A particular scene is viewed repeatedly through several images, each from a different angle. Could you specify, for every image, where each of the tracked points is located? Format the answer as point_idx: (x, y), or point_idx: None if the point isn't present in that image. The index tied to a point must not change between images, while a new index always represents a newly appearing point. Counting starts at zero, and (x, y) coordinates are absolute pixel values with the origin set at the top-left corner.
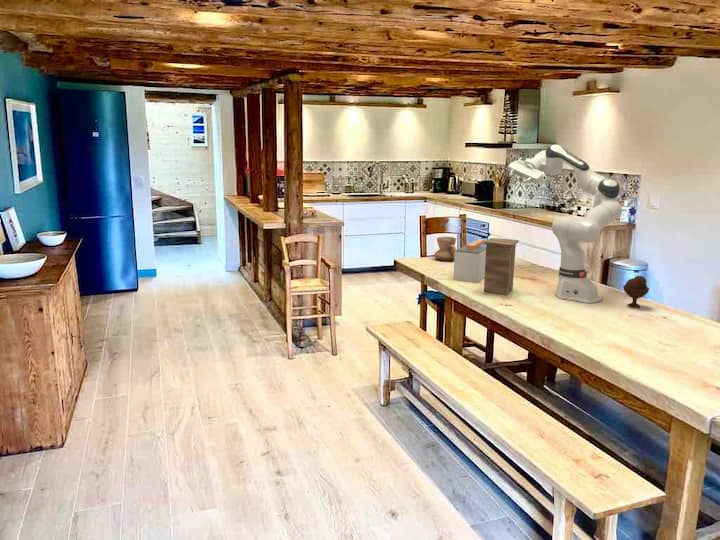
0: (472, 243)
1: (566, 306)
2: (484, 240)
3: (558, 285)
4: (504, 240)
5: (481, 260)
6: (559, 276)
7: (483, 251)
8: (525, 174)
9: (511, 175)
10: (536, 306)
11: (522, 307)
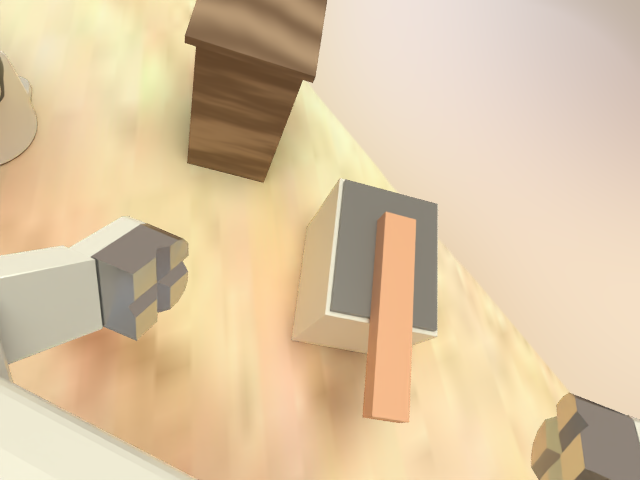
0: (402, 267)
1: (23, 15)
2: (371, 402)
3: (17, 92)
4: (251, 26)
5: (326, 220)
6: (4, 79)
7: (336, 239)
8: (78, 417)
9: (561, 454)
10: (120, 12)
11: (161, 4)
